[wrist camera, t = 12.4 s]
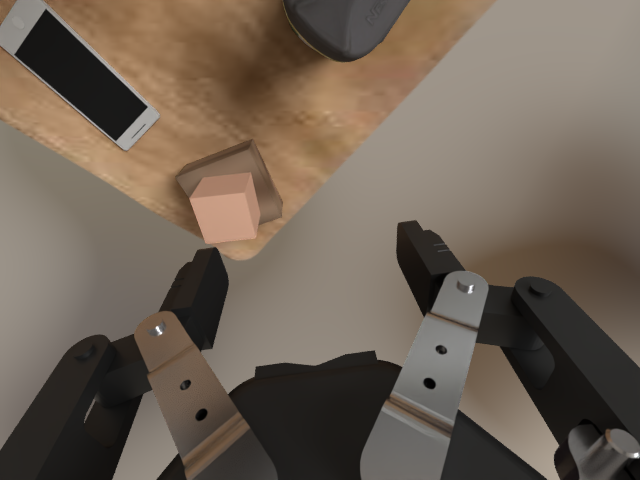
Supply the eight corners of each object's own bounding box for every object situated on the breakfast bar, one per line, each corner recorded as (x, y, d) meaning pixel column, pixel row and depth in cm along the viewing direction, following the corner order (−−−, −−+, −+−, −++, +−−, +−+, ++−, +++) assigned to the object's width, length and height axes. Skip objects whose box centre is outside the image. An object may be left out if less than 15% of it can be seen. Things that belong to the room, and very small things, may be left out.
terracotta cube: (203, 177, 37) (189, 198, 32) (250, 172, 37) (244, 192, 32) (216, 219, 40) (205, 243, 36) (260, 214, 41) (256, 238, 36)
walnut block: (186, 163, 41) (175, 177, 37) (253, 138, 40) (248, 149, 36) (223, 222, 46) (216, 239, 42) (282, 201, 45) (281, 217, 41)
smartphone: (32, -13, 30) (25, -15, 29) (163, 114, 37) (160, 116, 37) (-2, 38, 32) (-10, 38, 31) (128, 150, 40) (125, 152, 39)
